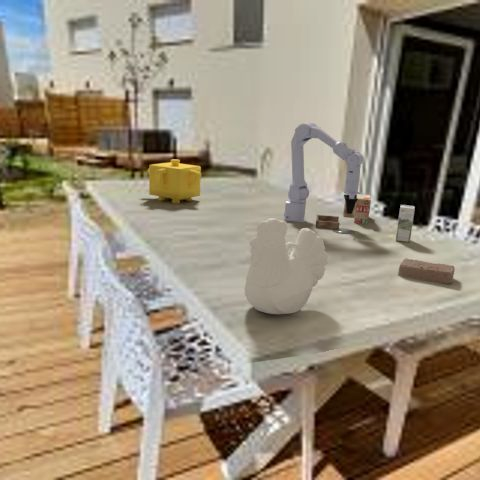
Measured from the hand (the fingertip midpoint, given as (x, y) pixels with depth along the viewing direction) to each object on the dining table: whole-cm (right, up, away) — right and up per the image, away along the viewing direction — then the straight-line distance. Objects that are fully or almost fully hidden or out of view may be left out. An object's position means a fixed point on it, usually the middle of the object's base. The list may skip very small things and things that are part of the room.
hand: (348, 212), depth 222 cm
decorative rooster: (-35, -30, -85) cm, 97 cm away
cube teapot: (-82, +9, +49) cm, 96 cm away
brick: (+13, -25, -54) cm, 61 cm away
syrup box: (+20, -12, -11) cm, 26 cm away
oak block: (0, -2, +1) cm, 2 cm away
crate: (-8, -6, +7) cm, 12 cm away
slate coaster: (-3, -9, -2) cm, 10 cm away
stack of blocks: (+10, -3, +23) cm, 25 cm away
